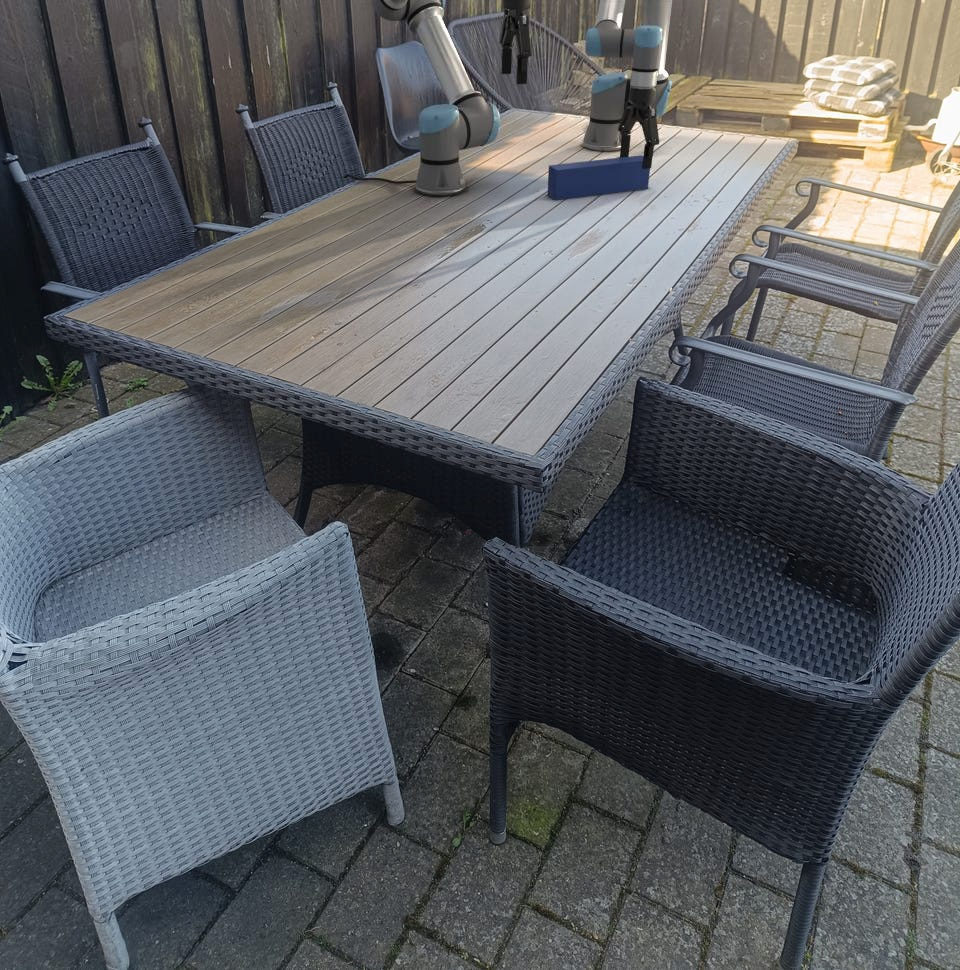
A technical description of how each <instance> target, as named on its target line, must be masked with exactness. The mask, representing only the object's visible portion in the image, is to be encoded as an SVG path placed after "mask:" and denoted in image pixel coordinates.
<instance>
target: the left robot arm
mask: <svg viewBox="0 0 960 970" xmlns="http://www.w3.org/2000/svg"><path fill="white" fill-rule="evenodd" d="M370 3H371V6H372V8H373V10H374V11H375V13H376V14H377V15H378V16H379V17H381V18H382V19H384V20H386V21H391V22H400V21H401V22H402V21H405V22H406V24H407V27H408V29H409V30H410V32H412V33H414V34H417V36H418V39H419V41H420V43H421V45H422V47H423V50H424V52H425V54H426V56H427V58H428V60H429V62H430V65H431V67H432V69H433V72H434V74H435V76H436V78H437V80H438V83H439V85H440V87H441V89H442V91H443V94H444V96H445V99H446V101H447V103H442V104H434V105H430V106H428V107H426V108H424V109H422V110H421V111H420V113H419V116H418V132H419V133H418V134H419V157H420V158H419V159H420V161H419V162H420V164H419V168H418V172H417V176H416V179H415V180H414V179H413V180H392V179H388V178H382V177H359V176H355V175H353V174H350V173H347V174H345V175H344V176H343V177H342V179H346V178H351V179H354V180H356V181H378V182H379V181H380V182H386V183H390V184H396V185H397V184H398V185H402V184H415V185H414V186H415V192H417V193H418V194H420V195H424V196H430V197H450V196H455V195H459V194H461V193H463V192H464V191H466V177H465V176H463V172H462V169H461V165H460V151H463V150H468V149H473V148H478V147H484V146H486V145H489V144H492V143H493V142H494V141H495V140H496V139H497V138H498V135H499V133H500V127H501V116H500V111H499V110H498V107H497V106H496V105H495V104H494V103H492V102H489V101H487V102H486V100H485V98H484V97H483V95H482V92H480V91H477V90H475V89H474V87H473V84H472V83H471V80H470V78H469V76H468V73H467V71H466V69H465V66H464V65H463V63H462V60H461V58H460V55H459V54H458V52H457V49H456V47H455V45H454V42H453V40H452V38H451V36H450V34H449V31H448V29H447V27H446V25H445V23H444V20H443V18H444V16H445V6H446V0H370ZM531 3H532V0H502V8H503V9H504V10H503V18H502V19H503V20H502V25H501V30H500V37H499V44H500V46H501V72H500V74H501V75H512V66H513V65H512V62H513V47H514V44H513V41H514V38H515V42H516V48H517V52H518V54H517V55H516V61H517V63H516V85H527V84H528V65H529V63H528V62H529V57H532V45H531V35H530V17H529V15H525V10H530V8H531Z"/></svg>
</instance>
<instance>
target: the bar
mask: <svg viewBox="0 0 960 970" xmlns="http://www.w3.org/2000/svg"><path fill="white" fill-rule="evenodd" d="M642 164H643V155H642V154H639V155H629V157H621V158H617V157H613V158H604V159H595V160H593V159H592V160H586V161H585V160H584V161H577V162H567V163H559V164H549V165H548V174H547V194H546V195H547V196H549V197H550V198H552V200H554V201H559V200H568V199H577V198H584V197H592V196H599V195H600V196H601V195H608V194H617V193H625V192H632V191H641V190H648V189H649V183H650V174H651V168H649V169H642Z"/></svg>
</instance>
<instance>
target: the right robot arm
mask: <svg viewBox="0 0 960 970" xmlns="http://www.w3.org/2000/svg"><path fill="white" fill-rule="evenodd" d="M625 4H626V0H599V4H598V11H597V16H596V22H595V27H590V28H588V29H587V31H586V36H585V51H584V52H585V54H586V56H587V57H592V58H598V59H599V58H600V59H601V58H609V59H611V58H612V59H619V58H620V59H632V65H631V71H630V72H631V73H630V78H628V74H626V73H621V72H616V73H615V72H614V73H607V74H602V75H599V76H597V77H595V78H594V79H593V81H592V86H591V91H590V94H591V96H590V97H591V98H590V108H589V109H590V111H589V122H588V126H587V128H586V131H585V133H584V136H583V138H582V146H583V148H585V149H586V150H587V149H588V150H591V151H597V152H617V151H620V152H619V157H620V158H621V157H630V149H631V147H630V146H631V137H632V135H631V134H632V132H631V131H632V130H633V128H634V127H635V125H636V123H637V122H638V123H639V125H640V126H641V129H642V133H643V137H644V140H645V144H644V147H643V155H642V156H643V164H642V169H649V168H650V169H652V165H653V157H654V151H655V146H658V145H660V137H659V136H660V135H659V127H658V120H657V119H658V118H660V117H661V118H662V117H663V116H664V115H665V112H666V109H667V105H668V101H669V97H670V93H671V88H672V84H673V83H672V80H670V79H669V73H668V72H667V71H666V70H665V66H666V58H667V49H668V42H669V41H668V40H669V32H670V31H669V30H670V24H671V14H672V6H673V0H644V8H643V18H642V25H640V26H637V27H636V28H635V29H629V28H628V29H625V28H622V23H623V17H624V13H625V12H624V11H625V6H626V5H625Z"/></svg>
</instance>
